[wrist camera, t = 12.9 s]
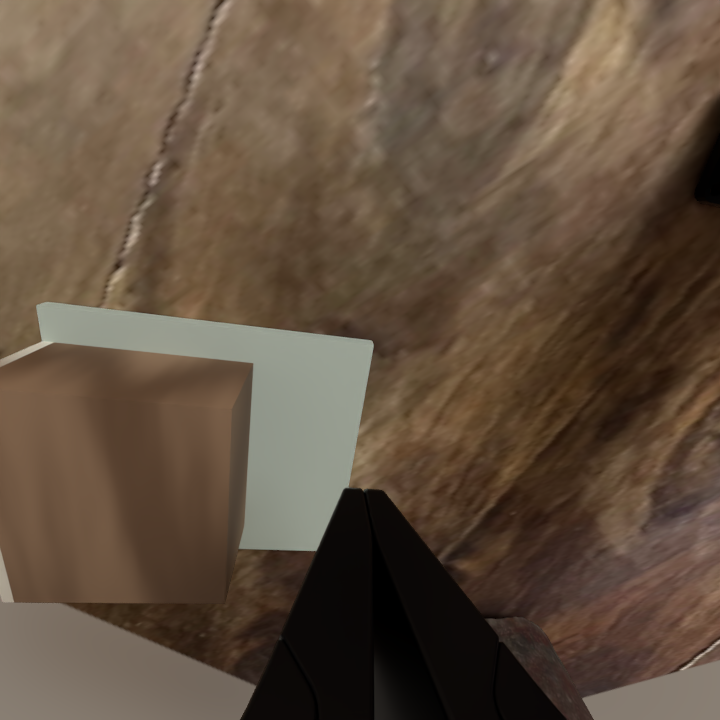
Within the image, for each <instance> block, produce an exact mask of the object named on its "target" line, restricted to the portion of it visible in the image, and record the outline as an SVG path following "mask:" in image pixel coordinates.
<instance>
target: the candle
mask: <svg viewBox="0 0 720 720" xmlns="http://www.w3.org/2000/svg"><path fill="white" fill-rule="evenodd" d="M485 620H486V621H487V622H488V623H489V625H490V626H491V627H492V628H493V630H494V631H495V632H496V633H497V635H498V636H499V639H500V640H499V642H501V641H502V642H504V643H505V645H506V646H507V647H508V648H509V650H510V651H511V652H512V653H513V655H514V656H515V657H516V658H517V660H518V661H519V662H520V664H521V665H522V666H523V667H524V668H525V670H526V671H527V672H528V673H529V675H530V676H531V677H532V678H533V679H534V681H535V682H536V683H537V684H538V685H539V687H540V688H541V689H542V690H543V692H544V693H545V694H546V695H547V696H548V698H549V699H550V700H551V701H552V703H553V704H554V705H555V706H556V707H557V708H558V709H559V710H560V712H561V713H562V714H563V715H564V716H565V717H566V718H567V719H568V720H594V719H593V718H592V716H591V714H590V712H589V711H588V709H587V707H586V705H585V703H584V702H583V700H582V698H581V696H580V694H579V692H578V691H577V689H576V687H575V685H574V683H573V682H572V680H571V678H570V676H569V674H568V673H567V671H566V669H565V667H564V665H563V664H562V662H561V660H560V659H559V657H558V655H557V654H556V652H555V650H554V648H553V646H552V644H551V642H550V640H549V639H548V637H547V635H546V634H545V633H544V632H543V630H542V629H541V628H540V627H539V626H538V625H536V624H534V623H533V622H531V621H529V620H527V619H525V618H523V617H515V616H514V617H512V618H508V617H505V618H502V619H492V618H490V619H485Z"/></svg>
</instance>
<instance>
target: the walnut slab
mask: <svg viewBox="0 0 720 720" xmlns="http://www.w3.org/2000/svg"><path fill="white" fill-rule="evenodd" d="M252 381H253V363H248V362H238V361H229V360H219V359H210V358H200V357H190V356H181V355H171V354H162V353H152V352H142V351H133V350H123V349H114V348H104V347H94V346H85V345H75V344H66V343H56V342H46V341H42V342H40V343H37V344H35V345H33V346H30V347H28V348H26V349H24V350H21V351H19V352H17V353H14V354H12V355H10V356H8V357H5V358H3V359H1V360H0V596H1V600H2V602H26V603H27V602H29V603H30V602H31V603H184V604H225V601H226V597H227V593H228V589H229V585H230V581H231V577H232V573H233V569H234V565H235V561H236V557H237V553H238V549H239V545H240V541H241V537H242V533H243V529H244V523H245V505H246V487H247V470H248V452H249V434H250V416H251V399H252Z"/></svg>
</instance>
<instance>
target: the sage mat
mask: <svg viewBox="0 0 720 720" xmlns="http://www.w3.org/2000/svg"><path fill="white" fill-rule="evenodd" d="M36 307H37V314H38V320H39V326H40V332H41V338H42V341H46V342H56V343H66V344H75V345H85V346H94V347H104V348H114V349H123V350H133V351H142V352H152V353H162V354H171V355H181V356H190V357H200V358H210V359H219V360H229V361H238V362H248V363H253V381H252V399H251V416H250V434H249V452H248V470H247V487H246V505H245V523H244V529H243V533H242V537H241V541H240V545H239V549H262V550H297V551H317V549H318V546H319V544H320V542H321V539H322V537H323V535H324V532H325V530H326V528H327V525H328V523H329V521H330V519H331V516H332V514H333V512H334V509H335V507H336V505H337V502H338V500H339V498H340V496H341V493H342V491H343V489H344V488H348V486H349V481H350V475H351V470H352V464H353V459H354V453H355V447H356V442H357V436H358V431H359V425H360V419H361V414H362V408H363V403H364V397H365V391H366V386H367V380H368V375H369V369H370V363H371V358H372V352H373V347H374V344H373V342H372V341H371V340H363V339H354V338H346V337H338V336H329V335H321V334H313V333H304V332H296V331H287V330H279V329H271V328H262V327H254V326H246V325H237V324H229V323H220V322H212V321H204V320H195V319H187V318H179V317H170V316H162V315H154V314H145V313H137V312H128V311H120V310H112V309H103V308H95V307H87V306H78V305H70V304H61V303H53V302H45V303H42V304H39V305H36Z"/></svg>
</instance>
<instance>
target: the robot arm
mask: <svg viewBox="0 0 720 720" xmlns="http://www.w3.org/2000/svg"><path fill="white" fill-rule="evenodd" d="M711 187H712V191H711V193H710V190H711ZM695 198H696V200H697V201H698V202H699V203H703V204H708V205H712V206H717V207H720V135H719V137H718V139H717V142H716V144H715V146H714V148H713V151H712V153H711V155H710V158H709V160H708V162H707V164H706V167H705V169H704V171H703V174H702V176H701V178H700V180H699V183H698V185H697V187H696V191H695ZM499 640H500V639H499V636H498V635H497V633H496V632H495V631H494V630H493V628H492V627H491V626H490V625H489V623H488V622H487V621H486V620H485V618H484V617H483V616H482V615H481V613H480V612H479V611H478V609H477V608H476V607H475V606H474V604H473V603H472V602H471V601H470V599H469V598H468V597H467V596H466V594H465V593H464V592H463V590H462V589H461V588H460V587H459V585H458V584H457V583H456V582H455V580H454V579H453V578H452V577H451V575H450V574H449V573H448V571H447V570H446V569H445V568H444V566H443V565H442V564H441V563H440V561H439V560H438V559H437V558H436V556H435V555H434V554H433V553H432V551H431V550H430V549H429V547H428V546H427V545H426V544H425V542H424V541H423V540H422V539H421V537H420V536H419V535H418V534H417V532H416V531H415V530H414V528H413V527H412V526H411V525H410V523H409V522H408V521H407V520H406V518H405V517H404V516H403V515H402V513H401V512H400V511H399V509H398V508H397V507H396V506H395V504H394V503H393V502H392V501H391V499H390V498H389V497H388V496H387V494H386V493H385V492H384V491H383V490H378V489H365V490H364V491H363V490H362V489H361V488H344V489H343V491H342V493H341V496H340V498H339V500H338V502H337V505H336V507H335V509H334V512H333V514H332V516H331V519H330V521H329V523H328V525H327V528H326V530H325V532H324V535H323V537H322V539H321V542H320V544H319V546H318V549H317V551H316V553H315V555H314V558H313V560H312V562H311V565H310V567H309V569H308V572H307V574H306V576H305V578H304V581H303V583H302V585H301V588H300V590H299V592H298V595H297V597H296V599H295V601H294V604H293V606H292V608H291V611H290V613H289V615H288V618H287V620H286V622H285V624H284V627H283V629H282V631H281V634H280V638H279V640H277V642H276V644H275V647H274V649H273V651H272V654H271V656H270V658H269V660H268V663H267V665H266V667H265V669H264V672H263V674H262V676H261V678H260V680H259V682H258V684H257V686H256V689H255V691H254V693H253V695H252V697H251V699H250V701H249V704H248V706H247V708H246V710H245V712H244V713H243V715H242V717H241V719H240V720H568V719H567V718H566V717H565V716H564V715H563V714H562V713H561V712H560V710H559V709H558V708H557V707H556V706H555V705H554V704H553V703H552V701H551V700H550V699H549V698H548V696H547V695H546V694H545V693H544V692H543V690H542V689H541V688H540V687H539V685H538V684H537V683H536V682H535V681H534V679H533V678H532V677H531V676H530V675H529V673H528V672H527V671H526V670H525V668H524V667H523V666H522V665H521V664H520V662H519V661H518V660H517V658H516V657H515V656H514V655H513V653H512V652H511V651H510V650H509V648H508V647H507V646H506V645H505V643H504V642H502V641H501V642H499Z"/></svg>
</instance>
